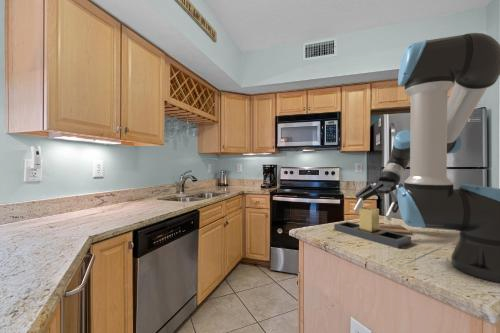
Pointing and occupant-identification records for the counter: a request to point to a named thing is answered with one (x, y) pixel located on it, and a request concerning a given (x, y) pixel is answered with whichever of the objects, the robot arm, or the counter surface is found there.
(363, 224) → the golden rectangular block
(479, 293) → the counter surface
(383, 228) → the coaster
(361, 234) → the compartment tray
